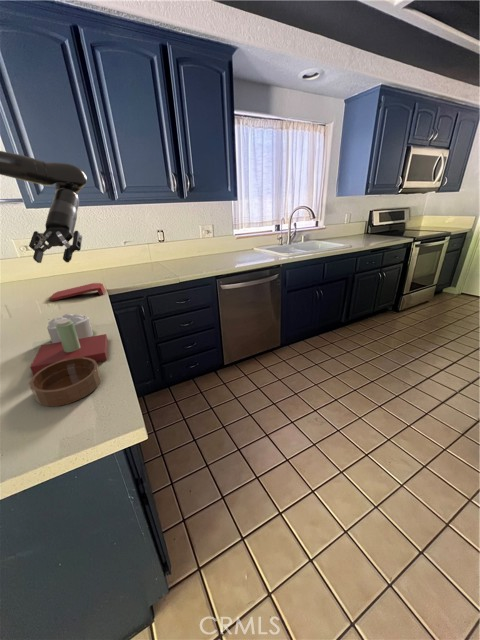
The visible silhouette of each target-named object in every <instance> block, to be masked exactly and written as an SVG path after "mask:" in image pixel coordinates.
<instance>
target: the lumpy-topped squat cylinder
mask: <svg viewBox="0 0 480 640" xmlns="http://www.w3.org/2000/svg"><path fill="white" fill-rule="evenodd" d="M62 319H70V320H71V321H73V323H74V326H75V330H76V333H77V336H78V339H81V338H86V337H92V336H94V332H93V329H92V326H91V322H90V321H91V320H90V318H89V316H87V315H82V314H77V313H76V314H72V313H65V314H63V315H62V317H53V318H52V319H50V320H49V321H48V322H47V324H48V325H47V327H46V330H47V332H48V335H49V338H50V340H51V344H52V343H58V342H61V341H60V338H59V335H58V332H57V329H56V326H55V325H56V324H57V322H58V321H59V320H62Z"/></svg>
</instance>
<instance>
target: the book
mask: <svg viewBox="0 0 480 640" xmlns="http://www.w3.org/2000/svg"><path fill="white" fill-rule="evenodd" d="M78 340H79V343H80V346H81V347H80V348H79V349H78V350H76V351H73V352H64V350H63V347H62V344H61V342H58V343H52V342H51V343H46V344H42V345H40V347H39V349H38V351H37V353H36V354H35V357H34V359H33V361H32V362H31V364H30V367H29V368H30V370H31V373H32V375H33V376H34V375H35V374H36V373H37V372H39V371H40V370H42V369H43V368H45V367H47V366H49V365H51V364H53V363H55V362H58V361H61V360H65V359H70V358H77V357H85V358H91V359H93V360H95V361H96V363H100V362H105V361H108V348H109V339H108V335H107V333H105V334H99V335H92V336H91V337H86V338H81V339H78Z"/></svg>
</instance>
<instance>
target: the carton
mask: <svg viewBox="0 0 480 640" xmlns="http://www.w3.org/2000/svg"><path fill="white" fill-rule="evenodd" d="M105 291H106V288H105V285H104V284H103V283H101V282H93V283H89V284H84V285H79V286H75V287H71V288H66V289H63V290H58V291H56V292H54V293H53V294H52V295H50V296H49V299H50V301H52V302H54V301H58V300H62V299H63V300H64V299H67V298H71V297H75V296H78V295H83V294H86V293H91V292H98V295H99V296H101V295H104V294H105Z"/></svg>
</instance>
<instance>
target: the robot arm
mask: <svg viewBox="0 0 480 640" xmlns="http://www.w3.org/2000/svg"><path fill="white" fill-rule="evenodd" d="M0 176H4V177H8V178H12V179H16V180H20V181H23V182H28V183H33V184H37V185H41V186H46V187H50V186H54V196H53V198H52V202H51V205H50V208H49V210H48V214H47V217H46V220H45V224H44V225H45V230H44V232H39V231H37V230H35V231H33V233H32V236H31V239H30V241H29V245H28V247H29V248H30V249H31V250H33V251H34V253H33V256H32V258H33V261H35V262H36V263H37V264H42V262H43V258H44V253H45V252H46V251H47V250H50V249H51V248H53V247H54V248H55V247H65V248H64V251H63V255H62V260H63V261H64V263H70V261H71V260H72V258H73V253H75V252H76V251H77V252H80V251H81V248H82V243H83V242H82V241H83V235H82V234H81V233H80V232H79V230H75V227H76V223H77V219H78V210H79V205H80V198H79V195H78V194H79V192H80V191H81V190H82V189H83V188H84V187H85V186H86V184H87V182H88V177H87V175H86V173H85V172H84V170H82V169H81V168H80V167H79V166H77V165H74V164H71V163H67V162H66V163H65V162H55V161H54V162H53V161H44V160H41V159H37V158H34V157H30V156H27V155H23V154H18V153H14V152H9V151H5V150H4V151H3V150H0ZM71 240H72V243H70V241H71ZM46 242H47V243H46Z"/></svg>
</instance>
